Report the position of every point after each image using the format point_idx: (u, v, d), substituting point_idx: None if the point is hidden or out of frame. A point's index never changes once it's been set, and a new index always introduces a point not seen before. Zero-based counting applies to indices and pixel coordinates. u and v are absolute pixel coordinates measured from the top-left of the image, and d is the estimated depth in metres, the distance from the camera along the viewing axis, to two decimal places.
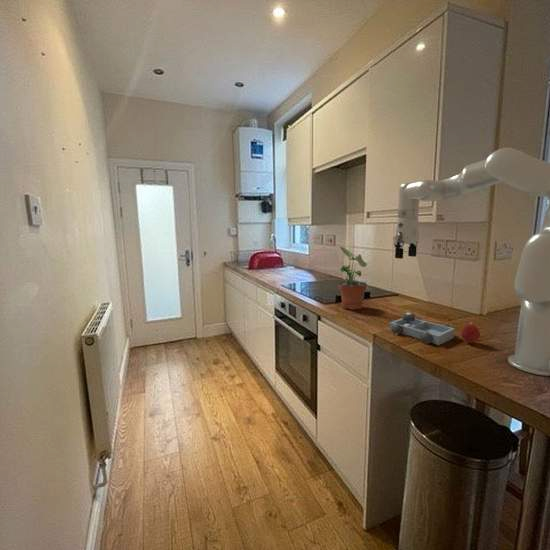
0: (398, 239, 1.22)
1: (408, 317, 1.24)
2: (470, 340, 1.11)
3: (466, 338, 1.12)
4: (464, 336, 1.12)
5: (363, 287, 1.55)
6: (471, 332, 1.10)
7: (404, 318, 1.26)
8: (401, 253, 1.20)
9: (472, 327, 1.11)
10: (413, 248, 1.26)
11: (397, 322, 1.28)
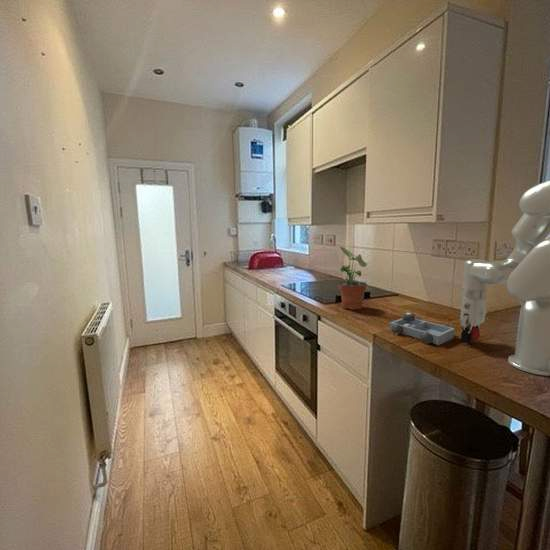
0: None
1: (408, 317, 1.24)
2: None
3: None
4: None
5: (363, 287, 1.55)
6: (471, 332, 1.10)
7: (404, 318, 1.26)
8: (469, 338, 1.10)
9: (472, 327, 1.11)
10: None
11: (397, 322, 1.28)
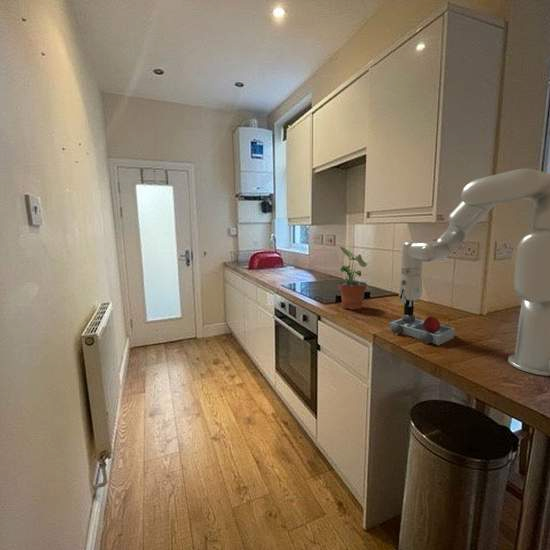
0: (401, 295, 1.24)
1: (408, 319, 1.25)
2: (430, 331, 1.18)
3: (427, 329, 1.18)
4: (425, 327, 1.19)
5: (363, 287, 1.55)
6: (431, 323, 1.17)
7: (404, 320, 1.26)
8: (410, 311, 1.25)
9: (432, 319, 1.17)
10: None
11: (397, 322, 1.28)
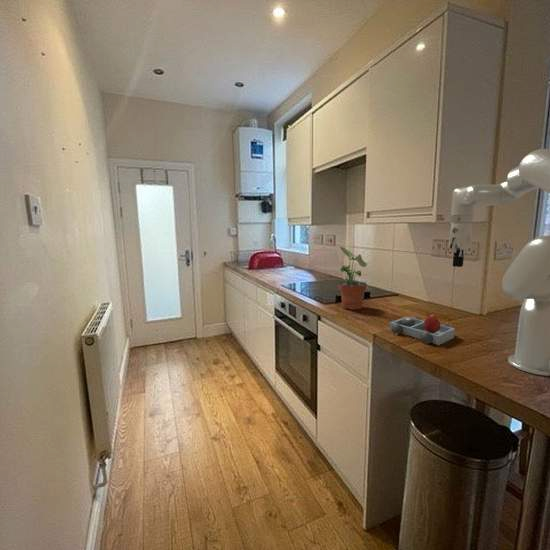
0: (451, 245, 1.19)
1: (408, 323, 1.25)
2: (430, 331, 1.18)
3: (427, 329, 1.18)
4: (425, 327, 1.19)
5: (363, 287, 1.55)
6: (431, 323, 1.17)
7: (404, 324, 1.26)
8: (460, 261, 1.20)
9: (432, 319, 1.17)
10: None
11: (397, 322, 1.28)
